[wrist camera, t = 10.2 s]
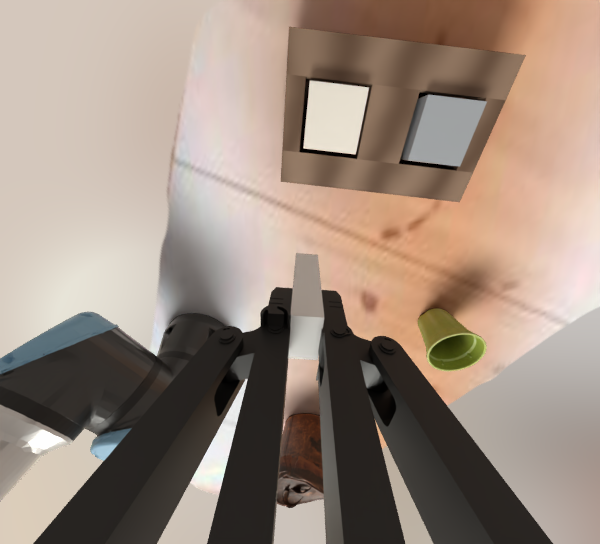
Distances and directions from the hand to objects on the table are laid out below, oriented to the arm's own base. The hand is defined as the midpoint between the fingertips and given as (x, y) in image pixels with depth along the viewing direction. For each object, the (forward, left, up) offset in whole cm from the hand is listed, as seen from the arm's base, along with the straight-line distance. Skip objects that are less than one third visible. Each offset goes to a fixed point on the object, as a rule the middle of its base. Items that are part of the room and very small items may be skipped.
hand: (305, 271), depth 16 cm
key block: (+8, +10, -23) cm, 26 cm away
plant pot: (+28, -21, -23) cm, 42 cm away
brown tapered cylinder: (+7, -67, -23) cm, 71 cm away
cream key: (+1, +10, -19) cm, 22 cm away
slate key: (+14, +10, -19) cm, 26 cm away
